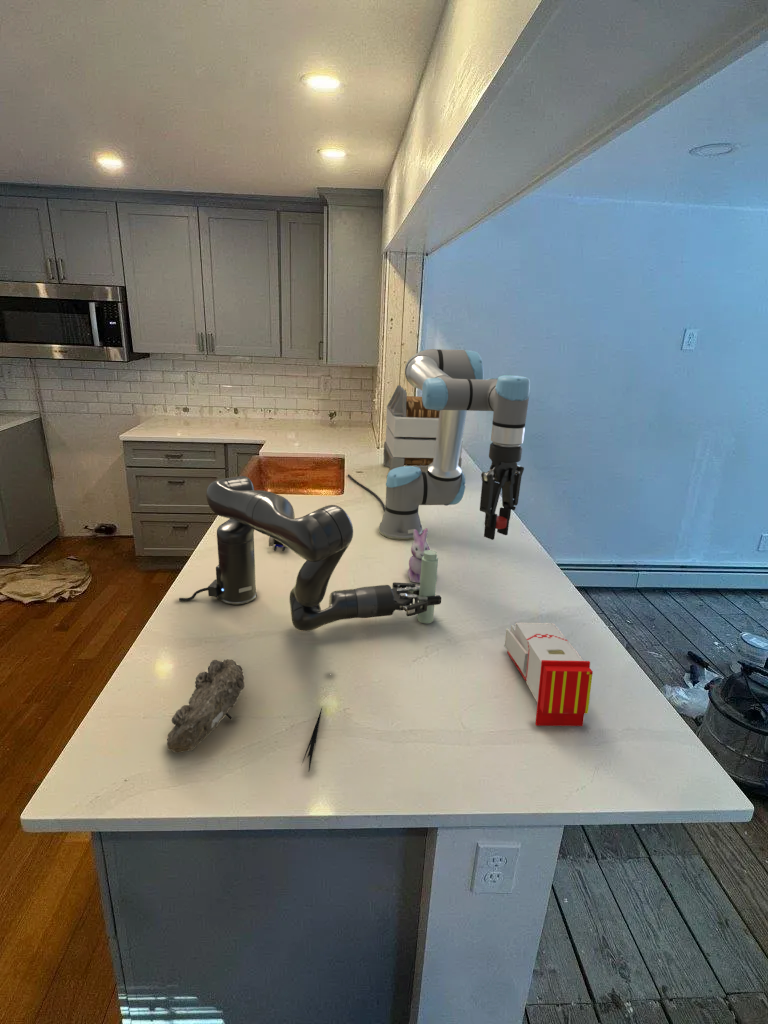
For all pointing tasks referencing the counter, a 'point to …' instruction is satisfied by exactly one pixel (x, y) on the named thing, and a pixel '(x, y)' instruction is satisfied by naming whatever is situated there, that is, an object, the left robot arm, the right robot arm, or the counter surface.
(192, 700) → the fossil
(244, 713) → the counter surface
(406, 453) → the grey slatted crate
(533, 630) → the toy
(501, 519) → the lid
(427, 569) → the bottle
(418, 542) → the figurine
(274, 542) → the figurine character
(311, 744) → the feather
